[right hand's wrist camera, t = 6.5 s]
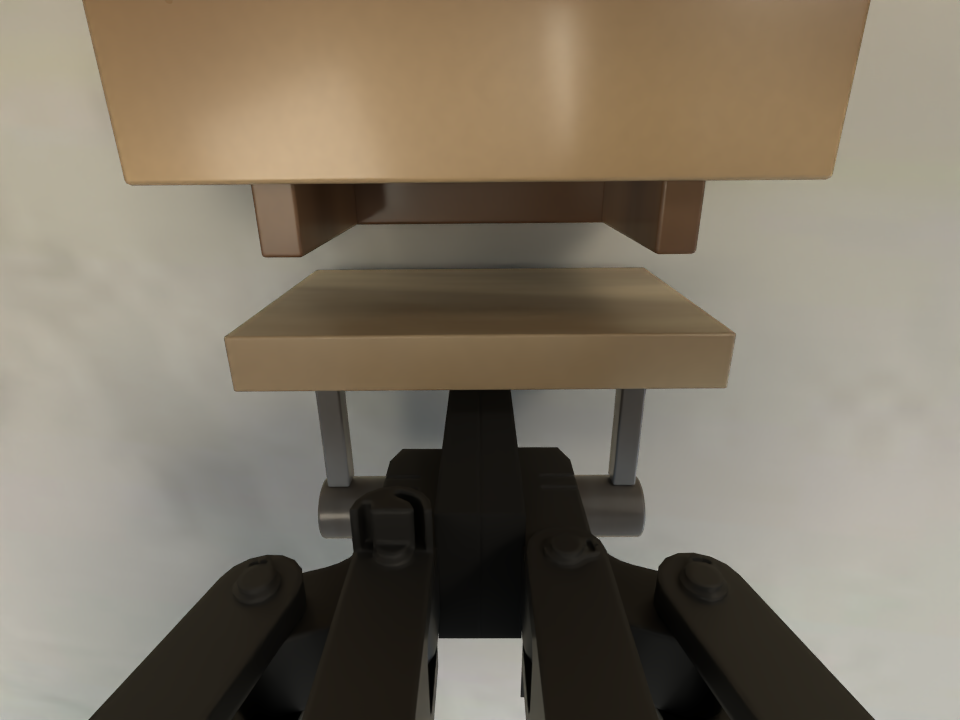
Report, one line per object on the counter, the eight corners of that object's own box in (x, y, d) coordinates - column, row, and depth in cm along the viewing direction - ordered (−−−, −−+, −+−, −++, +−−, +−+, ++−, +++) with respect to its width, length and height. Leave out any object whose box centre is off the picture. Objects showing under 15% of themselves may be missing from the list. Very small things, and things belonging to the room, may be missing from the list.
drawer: (625, 452, 19) (692, 592, 13) (338, 454, 19) (272, 594, 13) (737, -636, 10) (1103, -1752, 4) (207, -627, 10) (-176, -1723, 4)
